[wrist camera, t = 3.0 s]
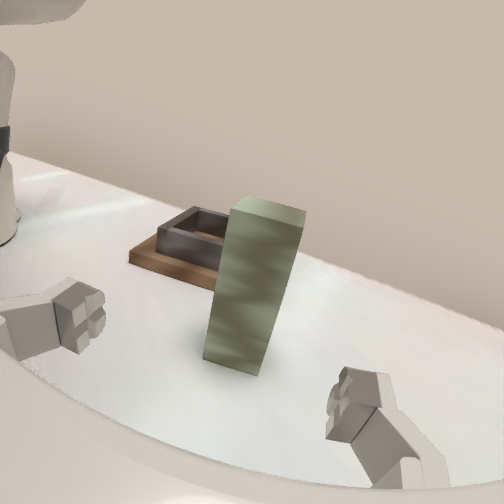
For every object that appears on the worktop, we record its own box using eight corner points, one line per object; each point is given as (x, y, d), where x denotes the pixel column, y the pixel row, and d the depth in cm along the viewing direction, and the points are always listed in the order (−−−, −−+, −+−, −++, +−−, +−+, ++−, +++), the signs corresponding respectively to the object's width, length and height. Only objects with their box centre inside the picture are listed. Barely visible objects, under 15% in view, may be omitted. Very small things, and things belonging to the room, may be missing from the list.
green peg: (202, 358, 23) (230, 208, 18) (218, 328, 27) (246, 195, 22) (257, 376, 22) (303, 227, 18) (266, 342, 26) (306, 211, 22)
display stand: (128, 262, 34) (131, 225, 32) (178, 228, 46) (182, 199, 45) (264, 306, 32) (275, 267, 30) (281, 257, 45) (288, 228, 43)
